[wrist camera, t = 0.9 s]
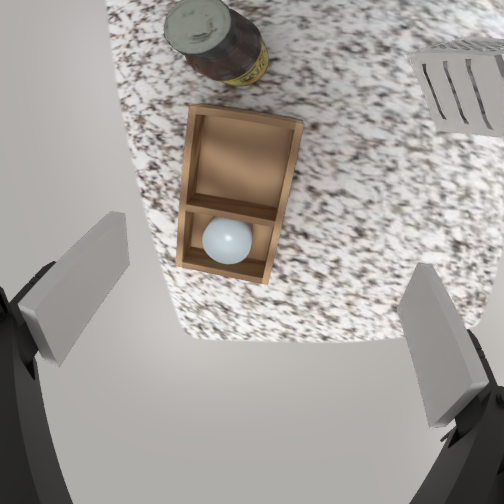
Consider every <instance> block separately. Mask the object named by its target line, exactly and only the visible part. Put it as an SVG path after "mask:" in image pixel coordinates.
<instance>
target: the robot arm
mask: <svg viewBox="0 0 504 504" xmlns="http://www.w3.org/2000/svg"><path fill="white" fill-rule="evenodd" d="M129 265H130V261H129V252H128V242H127V232H126V218H125V213H120V212H113V211H110V212H109V213H108V214H107V215H106V216H105V217H104V218H103V219H101V220H100V221H99V222H98V223H97V224H96V225H95V226H94V227H93V228H91V229H90V231H88V232H87V233H86V234H85V235H84V236H83V237H82V238H81V239H80V240H79V241H78V242H77V243H76V244H75V245H73V246H72V247H71V248H70V249H69V250H68V251H67V252H66V253H65V254H64V255H63V256H62V257H61V258H60V259H59V260H58V261H57V262H55V261H53V262H51V263H49V264H47V265H46V266H44V267H43V268H42V269H41V270H40V271H39V272H38V273H37V274H36V275H35V277H33V278H32V279H31V280H30V281H29V283H27V284H26V285H25V286H24V287H23V288H22V289H21V290H20V292H19V293H18V294H17V295H16V296H15V297H14V298H13V299H12V300H11V302H10V303H9V302H8V300H7V297H6V295H5V292H4V290H3V288H1V287H0V504H73V502H72V500H71V497H70V495H69V492H68V489H67V486H66V484H65V481H64V478H63V475H62V472H61V469H60V466H59V463H58V459H57V456H56V452H55V449H54V445H53V442H52V438H51V434H50V430H49V426H48V422H47V417H46V413H45V408H44V403H43V398H42V393H41V387H40V381H39V374H38V369H37V362H36V359H35V357H34V356H35V354H36V353H37V351H38V350H39V352H40V354H41V356H42V358H43V360H44V361H46V362H48V363H50V364H52V365H55V366H57V367H60V366H61V364H62V362H63V361H64V360H65V358H66V356H67V355H68V353H69V352H70V350H71V348H72V347H73V345H74V344H75V342H76V341H77V339H78V338H79V336H80V334H81V333H82V332H83V330H84V328H85V327H86V326H87V324H88V323H89V321H90V320H91V318H92V317H93V315H94V314H95V312H96V311H97V309H98V308H99V306H100V305H101V304H102V302H103V301H104V299H105V298H106V297H107V295H108V294H109V292H110V291H111V290H112V288H113V287H114V285H115V284H116V282H117V281H118V280H119V279H120V277H121V276H122V275H123V273H124V272H125V270H126V269H127V268H128V266H129ZM397 312H398V315H399V318H400V321H401V324H402V327H403V331H404V334H405V337H406V340H407V344H408V347H409V350H410V354H411V357H412V361H413V364H414V368H415V371H416V375H417V379H418V382H419V387H420V391H421V394H422V398H423V403H424V407H425V412H426V416H427V421H428V425H429V428H439V427H446V426H447V425H448V424H449V423H450V422H451V421H452V420H453V419H454V418H455V422H456V426H455V427H454V428H453V429H452V430H451V431H449V432H448V433H447V434H446V435H445V436H444V437H443V438H442V439H441V440H440V441H441V442H442V441H444V440H445V439H446V438H447V440H446V442H445V444H444V446H443V448H442V450H441V452H440V454H439V456H438V458H437V459H436V461H435V463H434V465H433V466H432V468H431V470H430V472H429V473H428V475H427V477H426V478H425V480H424V482H423V483H422V485H421V487H420V488H419V490H418V491H417V493H416V494H415V496H414V497H413V499H412V501H411V502H410V503H409V504H504V387H503V386H498V385H497V383H496V380H495V378H494V376H493V373H492V371H491V368H490V366H489V364H488V361H487V359H486V358H485V355H484V352H483V351H482V350H481V349H482V348H481V346H480V344H479V342H478V339H477V338H476V337H475V336H474V334H473V333H472V332H471V331H470V330H469V329H466V328H465V326H464V324H463V322H462V320H461V318H460V316H459V314H458V312H457V310H456V308H455V306H454V304H453V302H452V300H451V298H450V296H449V294H448V293H447V291H446V289H445V287H444V285H443V284H442V282H441V280H440V278H439V276H438V275H437V273H436V271H435V269H434V268H433V266H432V265H430V264H425V263H420V262H418V264H417V266H416V268H415V271H414V273H413V275H412V277H411V280H410V282H409V284H408V286H407V288H406V290H405V293H404V295H403V297H402V299H401V301H400V303H399V305H398V307H397Z"/></svg>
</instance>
